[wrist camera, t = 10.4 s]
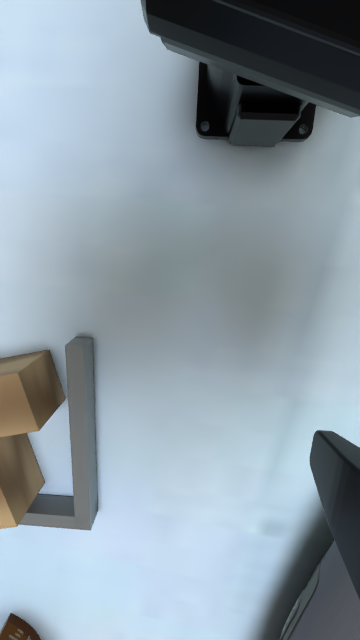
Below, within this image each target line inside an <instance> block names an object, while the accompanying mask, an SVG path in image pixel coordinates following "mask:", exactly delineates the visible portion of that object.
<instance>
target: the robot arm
mask: <svg viewBox="0 0 360 640" xmlns="http://www.w3.org/2000/svg"><path fill="white" fill-rule="evenodd" d="M141 5H142V10H143V16H144V20H145V22H146V25H147V27H148V29H149V32H150V33H151V34H154V35H156V36H159V37H161V40H162V42H163V44H164V45H165V47H166V48H167V49H168V50H171V51H173V52H176V53H179V54H181V55H184V56H187V57H189V58H192V59H195V60H197V61H199V80H198V100H197V119H196V132H197V134H198V136H200V137H201V138H206V139H228V141H229V142H230V144H231V145H238V146H266V147H274V146H275V145H276V144H277V143H278V142H279V141H293V142H301V141H304V140H306V139H307V138H308V137H309V136H310V134H311V133H312V129H313V122H314V115H315V108H316V105H319V106H321V107H324V108H327V109H329V110H332V111H335V112H337V113H340V114H343V115H345V116H348V117H357V116H360V0H141ZM203 124H207V125H208V126H209V129H208V130H207V131H202V130H201V126H202V125H203ZM299 127H304V129H305V134H303V135H302V134H300V133H299ZM310 466H311V470H312V473H313V477H314V480H315V483H316V486H317V490H318V493H319V496H320V500H321V503H322V506H323V509H324V513H325V516H326V519H327V522H328V525H329V528H330V531H331V533H332V536H333V538H334V541H335V543H336V545H337V548H338V550H339V553H340V555H341V558H342V560H343V562H344V565H345V567H346V570H347V572H348V574H349V577H350V579H351V582H352V584H353V586H354V589H355V591H356V594H357V596H358V598H359V601H360V448H359V447H358V446H356V445H354V444H353V443H351V442H349V441H348V440H346V439H344V438H343V437H341V436H339V435H338V434H336V433H335V432H332V431H322V430H317V431H316V432H315V434H314V437H313V442H312V448H311V453H310Z"/></svg>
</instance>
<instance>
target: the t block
mask: <svg viewBox="0 0 360 640" xmlns="http://www.w3.org/2000/svg"><path fill="white" fill-rule="evenodd" d="M64 400H65V396H64V393H63V390H62V387H61V384H60V381H59V378H58V375H57V372H56V369H55V366H54V363H53V360H52V357H51V354H50V351H49V350H45V351H40V352H34V353H29V354H24V355H18V356H13V357H8V358H2V359H0V529H3V528H11V527H17V526H18V524H19V523H20V521H21V520H22V518H23V516H24V515H25V513H26V512H27V510H28V508H29V507H30V505H31V504H32V502H33V500H34V499H35V497H36V496H37V494H38V492H39V491H40V489H41V488H42V486H43V484H44V483H45V481H44V479H43V476H42V473H41V471H40V468H39V465H38V463H37V460H36V457H35V455H34V452H33V449H32V447H31V444H30V442H29V439H28V436H27V434H26V433H29V432H36V431H39V430H40V429H41V428H42V427H43V425H44V424H45V423H46V422H47V421H48V419H49V418H50V417H51V416H52V415H53V413H54V412H55V411H56V410H57V409H58V407H59V406H60V405H61V404H62V402H63V401H64Z"/></svg>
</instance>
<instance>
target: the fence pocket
mask: <svg viewBox="0 0 360 640" xmlns="http://www.w3.org/2000/svg"><path fill="white" fill-rule="evenodd" d="M65 352H66V369H67V387H68V405H69V423H70V440H71V458H72V476H73V493H74V497H69V496H56V495H43V494H37V496H36V497H35V499H34V500H33V502H32V504H31V505H30V507H29V508H28V510H27V512H26V513H25V515H24V516H23V518H22V520H21V521H20V523H19V525H31V526H44V527H56V528H68V529H80V530H91V528H92V525H93V523H94V520H95V517H96V514H97V511H98V498H97V466H96V434H95V403H94V371H93V339H92V338H85V337H75V338H74V339H73V340H71V341H70V342H69V343H68V344H66V345H65Z"/></svg>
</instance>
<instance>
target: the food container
mask: <svg viewBox="0 0 360 640" xmlns="http://www.w3.org/2000/svg"><path fill="white" fill-rule="evenodd" d="M0 640H41V639H40V637H39V635H38V634H37V633H36V631H35V630H34V629H33V628H32V627H31V626H30V625H29V624H28V623H27V622H25V621H24V620H22V619H21V618H19V617H18V616H15V615H13V614H10V615H9V617H8V619H7V620H6V622H5V624H4V626H3V627H2V629H1V631H0Z"/></svg>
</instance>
